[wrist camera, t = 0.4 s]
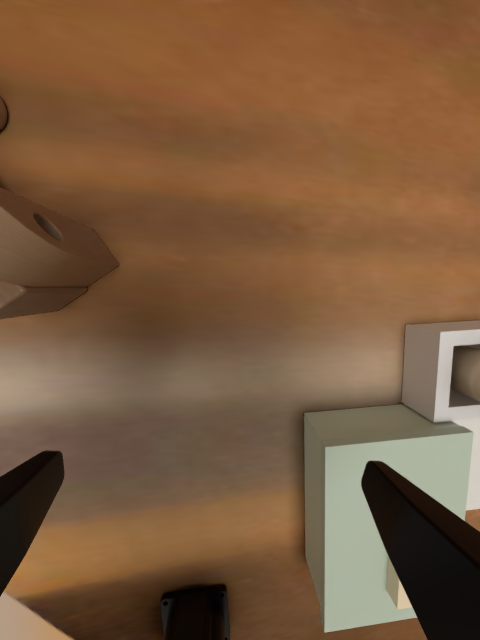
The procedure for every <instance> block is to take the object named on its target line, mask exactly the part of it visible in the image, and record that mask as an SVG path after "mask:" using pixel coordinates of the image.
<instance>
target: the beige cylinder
mask: <svg viewBox="0 0 480 640" xmlns="http://www.w3.org/2000/svg"><path fill="white" fill-rule="evenodd" d="M450 389H452V390H455V391H457V392H459V393H462V394H464V395H466V396H468V397H471V398H473V399H475V400H478V401H480V349H477V348H472V347H468V346H464V345H460V346H454V347H453V359H452V371H451V383H450Z"/></svg>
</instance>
